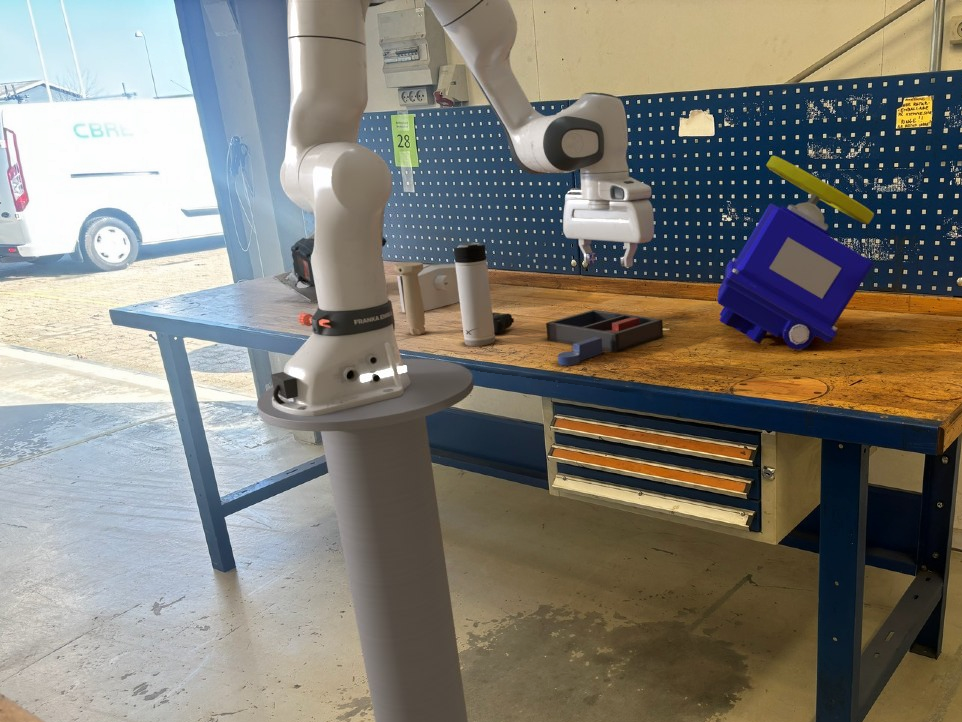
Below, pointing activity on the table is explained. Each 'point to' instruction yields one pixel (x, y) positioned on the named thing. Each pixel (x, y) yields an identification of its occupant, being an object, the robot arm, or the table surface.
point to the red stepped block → (624, 324)
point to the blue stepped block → (581, 351)
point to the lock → (435, 286)
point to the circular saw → (303, 268)
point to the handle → (412, 295)
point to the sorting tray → (604, 330)
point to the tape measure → (502, 322)
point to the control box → (794, 268)
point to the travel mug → (474, 295)
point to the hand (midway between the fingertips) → (608, 264)
